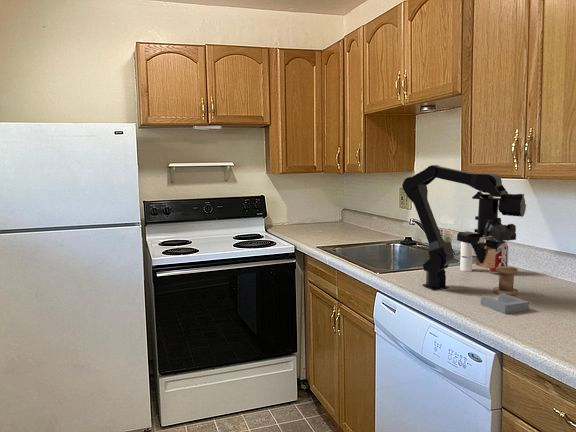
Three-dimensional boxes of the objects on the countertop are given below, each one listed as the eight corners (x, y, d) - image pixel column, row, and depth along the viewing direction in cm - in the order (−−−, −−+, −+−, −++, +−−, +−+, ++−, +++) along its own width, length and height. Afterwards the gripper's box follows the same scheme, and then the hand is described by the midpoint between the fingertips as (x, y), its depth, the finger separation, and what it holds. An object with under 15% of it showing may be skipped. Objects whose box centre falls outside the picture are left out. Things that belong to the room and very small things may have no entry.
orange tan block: (475, 265, 158) (476, 246, 157) (483, 264, 159) (484, 246, 158) (487, 268, 153) (488, 249, 152) (494, 267, 154) (495, 249, 153)
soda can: (485, 273, 186) (486, 242, 185) (491, 269, 191) (493, 239, 190) (503, 275, 182) (504, 244, 180) (509, 272, 187) (511, 241, 185)
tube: (469, 268, 193) (470, 231, 191) (473, 271, 189) (474, 233, 187) (458, 269, 193) (459, 231, 191) (462, 271, 189) (463, 233, 187)
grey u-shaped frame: (480, 304, 148) (480, 296, 148) (503, 301, 151) (503, 293, 151) (504, 313, 139) (505, 305, 139) (528, 310, 142) (528, 301, 142)
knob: (489, 290, 162) (490, 267, 161) (506, 288, 165) (507, 265, 164) (505, 296, 156) (506, 271, 155) (522, 294, 158) (523, 269, 157)
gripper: (482, 218, 143) (479, 271, 145) (531, 215, 149) (528, 265, 151) (456, 214, 153) (454, 262, 155) (504, 211, 160) (501, 258, 162)
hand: (485, 262), depth 156 cm, fingers closed on orange tan block, 3 cm apart
